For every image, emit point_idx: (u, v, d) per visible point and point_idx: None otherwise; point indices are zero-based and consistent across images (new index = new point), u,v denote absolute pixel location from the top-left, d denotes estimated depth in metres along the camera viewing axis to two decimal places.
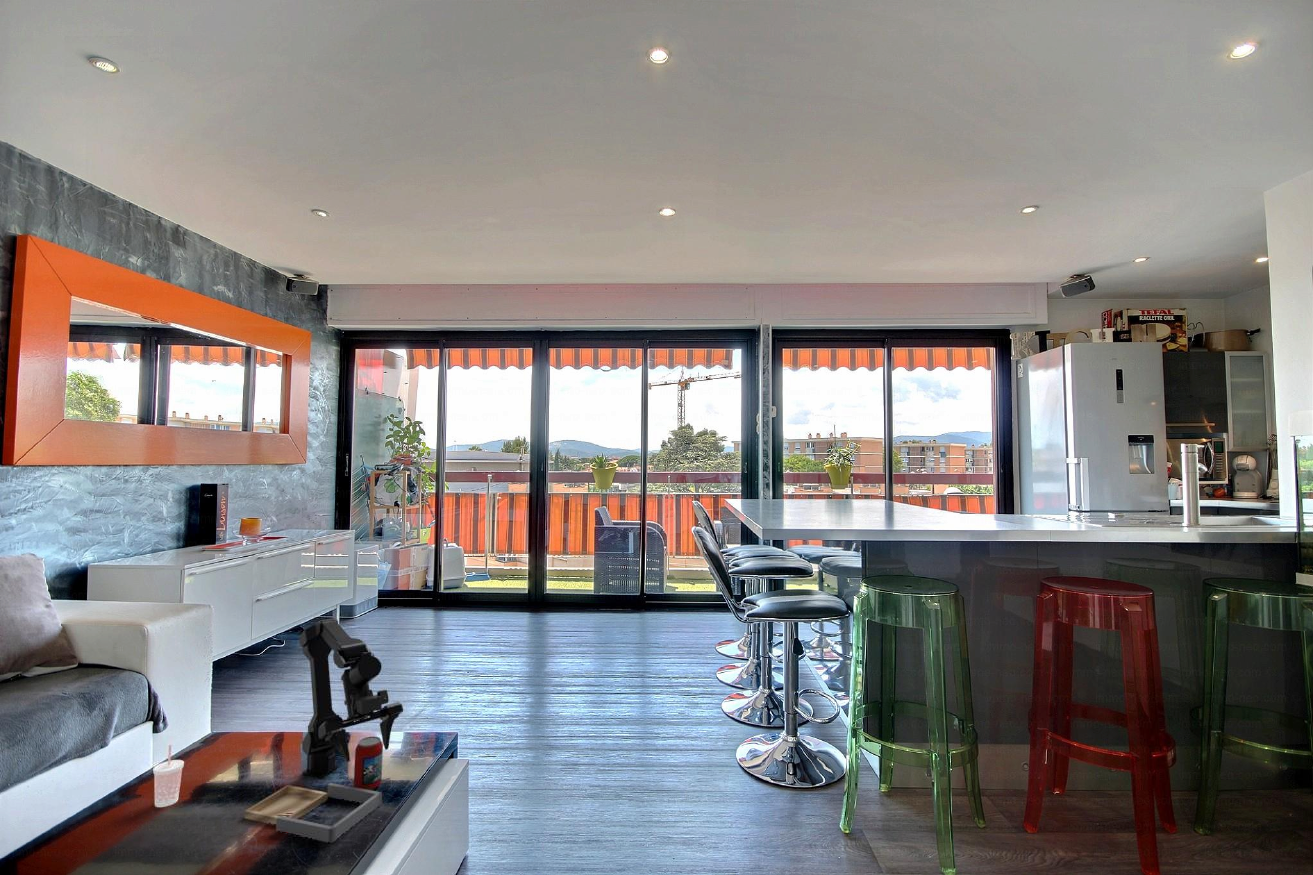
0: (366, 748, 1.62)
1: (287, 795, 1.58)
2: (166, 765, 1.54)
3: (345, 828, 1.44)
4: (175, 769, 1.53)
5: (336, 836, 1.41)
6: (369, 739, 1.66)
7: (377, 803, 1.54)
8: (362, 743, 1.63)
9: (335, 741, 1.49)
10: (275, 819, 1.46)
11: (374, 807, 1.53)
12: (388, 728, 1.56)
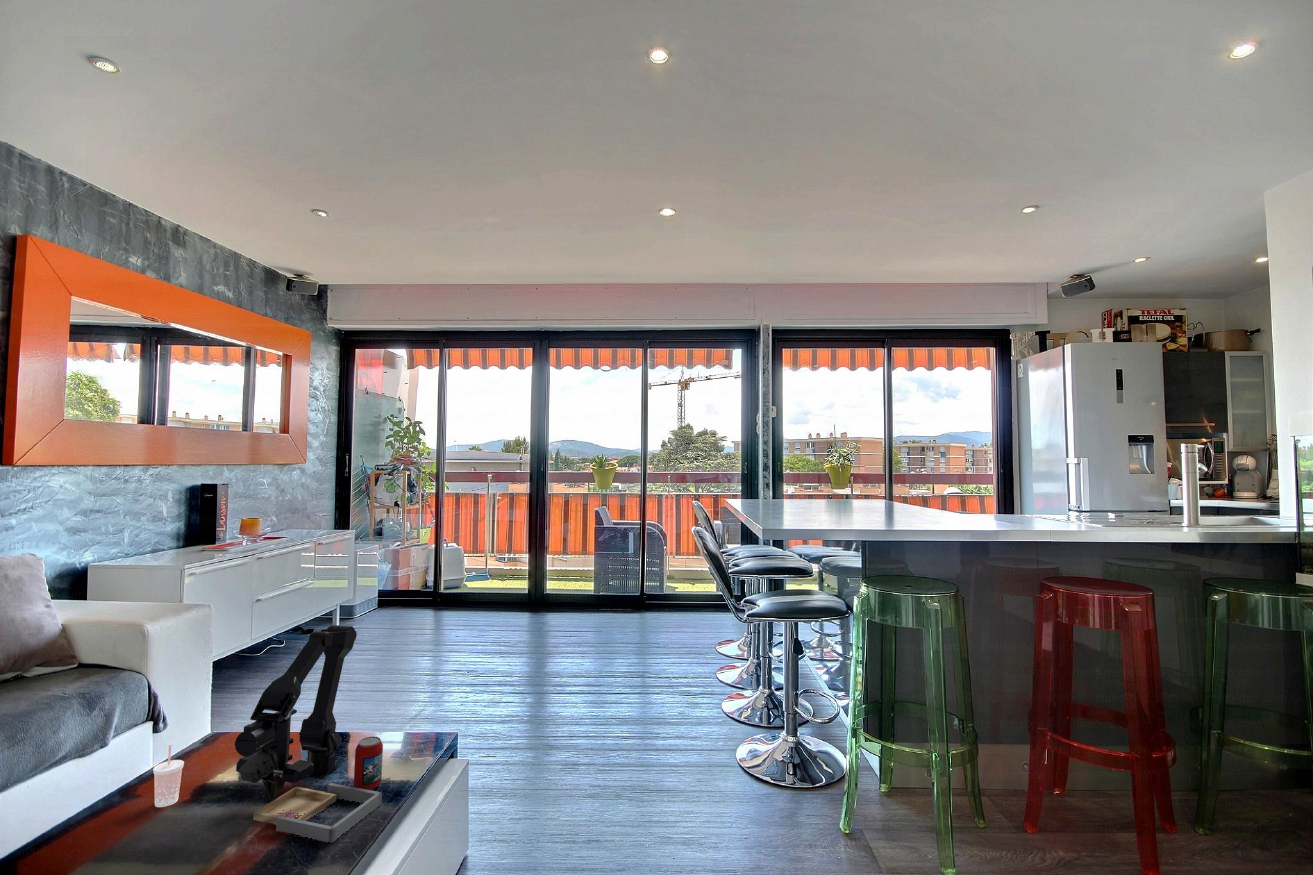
0: (366, 748, 1.62)
1: (295, 796, 1.58)
2: (166, 765, 1.54)
3: (345, 828, 1.44)
4: (175, 769, 1.53)
5: (336, 836, 1.41)
6: (369, 739, 1.66)
7: (377, 803, 1.54)
8: (362, 743, 1.63)
9: None
10: None
11: (374, 807, 1.53)
12: (272, 786, 1.53)
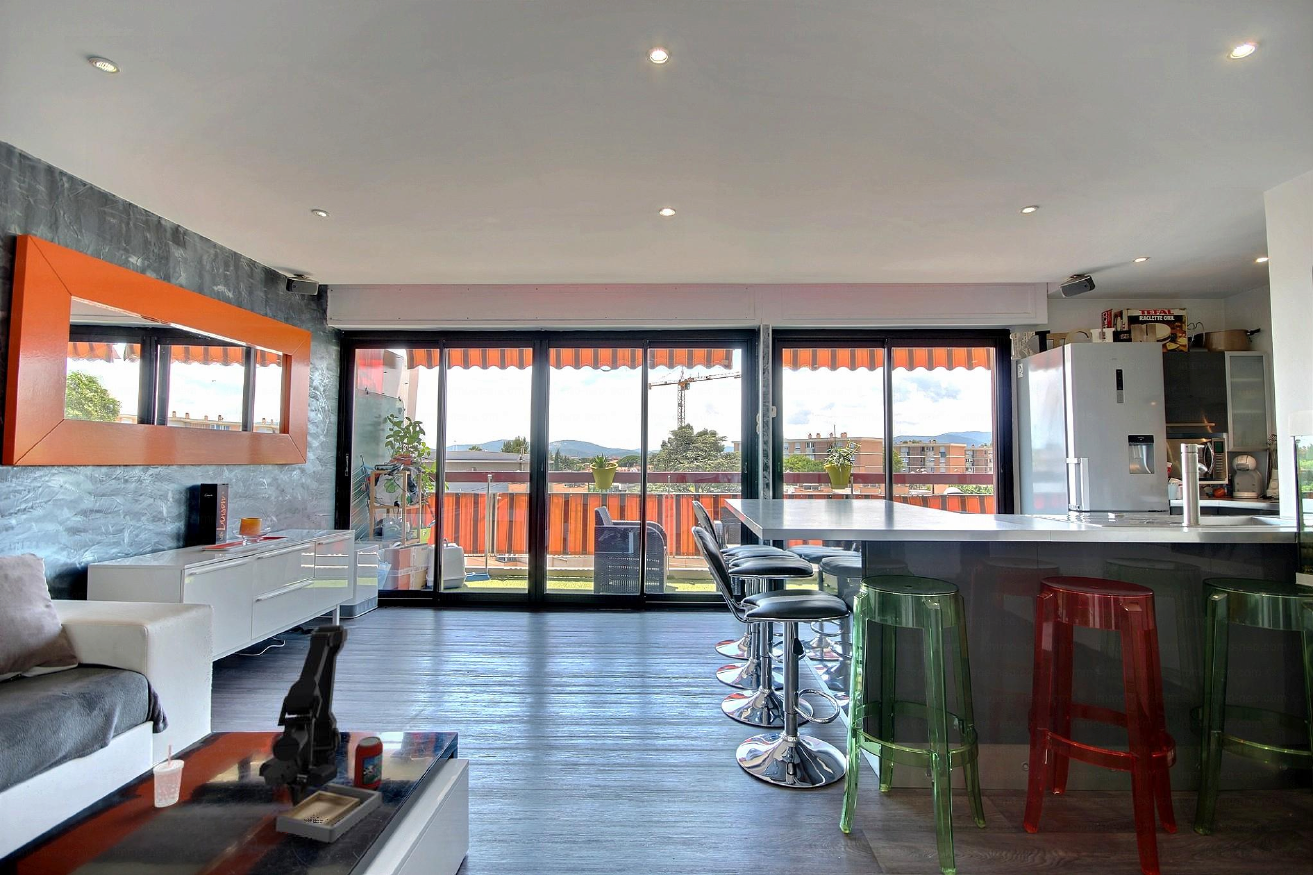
0: (366, 748, 1.62)
1: (318, 801, 1.56)
2: (166, 765, 1.54)
3: (345, 828, 1.44)
4: (175, 769, 1.53)
5: (336, 836, 1.41)
6: (369, 739, 1.66)
7: (377, 803, 1.54)
8: (362, 743, 1.63)
9: None
10: None
11: (374, 807, 1.53)
12: (295, 790, 1.51)
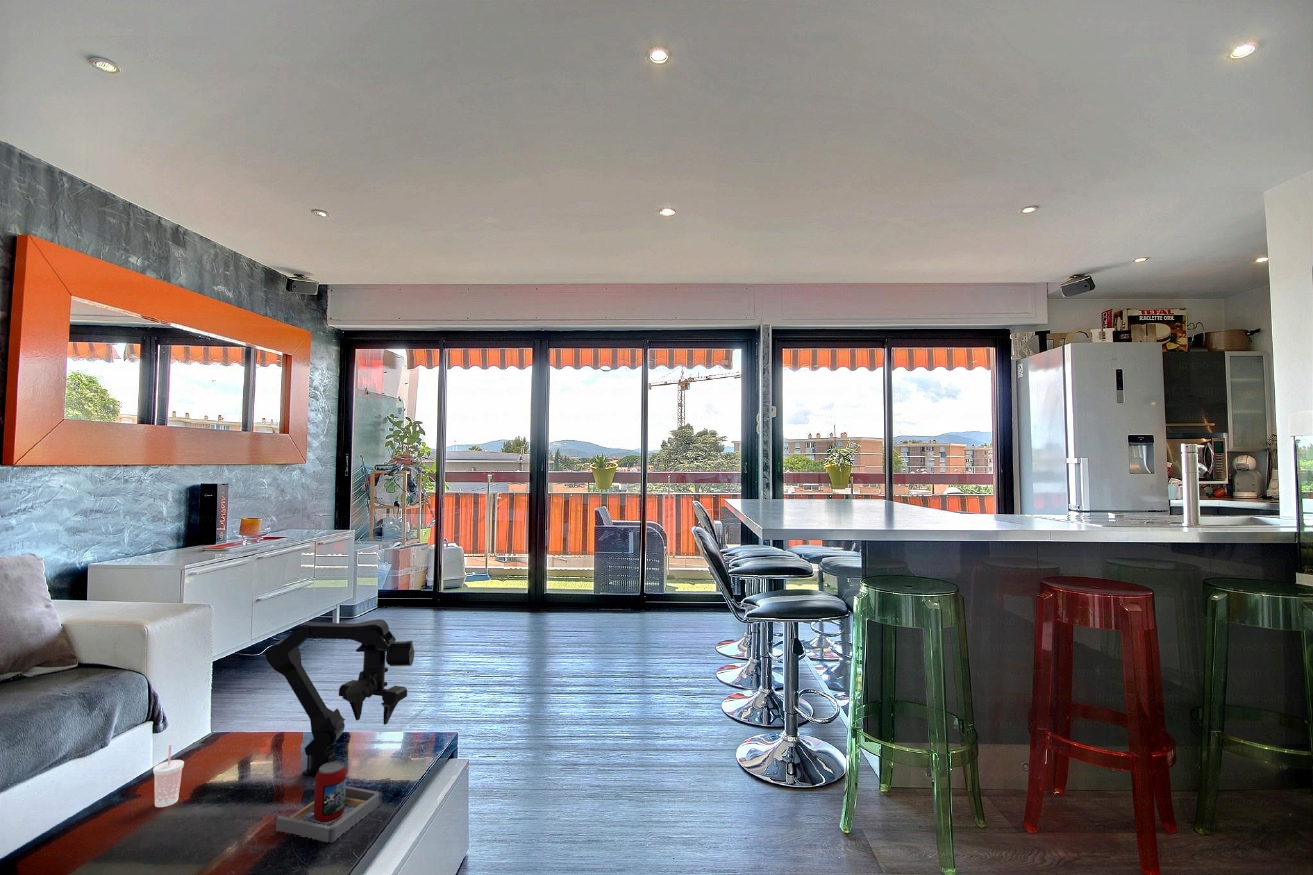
0: (327, 775, 1.47)
1: None
2: (166, 765, 1.54)
3: (345, 828, 1.44)
4: (175, 769, 1.53)
5: (336, 836, 1.41)
6: (331, 764, 1.52)
7: (377, 803, 1.54)
8: (323, 769, 1.49)
9: None
10: None
11: (374, 807, 1.53)
12: (385, 710, 1.71)
